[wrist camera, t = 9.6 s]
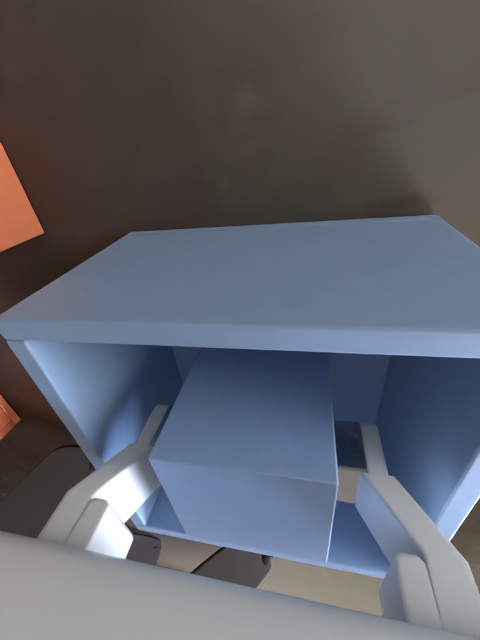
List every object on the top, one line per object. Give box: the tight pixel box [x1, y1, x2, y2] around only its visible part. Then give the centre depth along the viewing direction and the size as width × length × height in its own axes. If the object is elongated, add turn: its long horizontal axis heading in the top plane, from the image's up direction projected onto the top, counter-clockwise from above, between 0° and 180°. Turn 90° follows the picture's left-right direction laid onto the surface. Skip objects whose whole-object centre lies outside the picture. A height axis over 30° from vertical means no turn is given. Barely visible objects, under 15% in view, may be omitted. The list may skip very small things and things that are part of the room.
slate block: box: [149, 347, 339, 562], centre depth 10 cm, size 4×4×4 cm
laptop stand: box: [0, 445, 273, 588], centre depth 27 cm, size 23×23×9 cm
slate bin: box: [0, 215, 480, 578], centre depth 11 cm, size 11×11×6 cm
